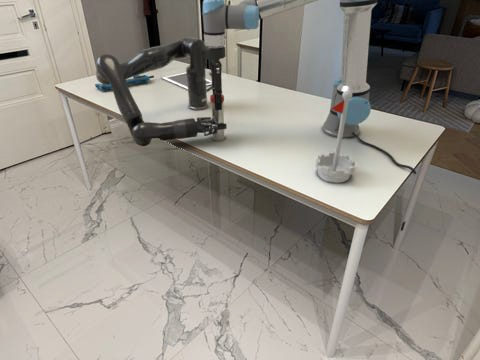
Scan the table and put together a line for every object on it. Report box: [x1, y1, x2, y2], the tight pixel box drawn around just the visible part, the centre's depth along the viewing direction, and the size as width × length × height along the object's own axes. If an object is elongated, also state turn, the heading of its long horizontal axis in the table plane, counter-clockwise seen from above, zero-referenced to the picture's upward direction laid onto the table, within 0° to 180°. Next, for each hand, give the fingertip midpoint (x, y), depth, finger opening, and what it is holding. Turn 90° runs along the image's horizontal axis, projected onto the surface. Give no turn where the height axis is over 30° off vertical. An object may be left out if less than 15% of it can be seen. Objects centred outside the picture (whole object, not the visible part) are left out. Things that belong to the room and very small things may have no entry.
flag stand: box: [315, 90, 356, 183], centre depth 111 cm, size 13×13×30 cm
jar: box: [210, 101, 225, 142], centre depth 139 cm, size 5×5×18 cm
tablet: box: [161, 71, 212, 91], centre depth 211 cm, size 32×20×1 cm, turn 41°
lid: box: [209, 93, 225, 103], centre depth 135 cm, size 5×6×2 cm
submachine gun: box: [94, 74, 155, 92], centre depth 207 cm, size 34×4×25 cm
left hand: (224, 123), depth 141 cm, fingers closed on jar, 5 cm apart
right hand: (217, 106), depth 136 cm, fingers closed on lid, 5 cm apart
